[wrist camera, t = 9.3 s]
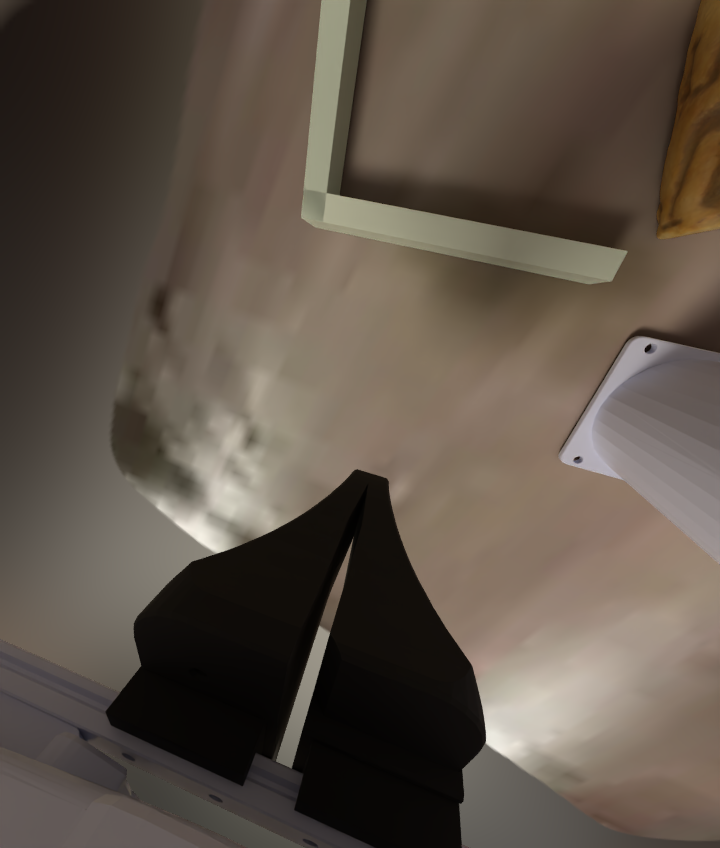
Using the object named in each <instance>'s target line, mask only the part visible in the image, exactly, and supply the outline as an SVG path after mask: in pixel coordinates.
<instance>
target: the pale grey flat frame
mask: <svg viewBox="0 0 720 848" xmlns="http://www.w3.org/2000/svg"><path fill="white" fill-rule="evenodd" d="M366 3H367V0H322V2H321V13H320V23H319V34H318V44H317V55H316V66H315V76H314V87H313V97H312V108H311V118H310V129H309V140H308V150H307V161H306V171H305V182H304V192H303V203H302V213H301V218H302V219H304V220H305V221H307V222H308V223H310V224H311V225H312V226H314V227H316V228H320V229H325V230H330V231H335V232H340V233H344V234H349V235H354V236H359V237H364V238H368V239H373V240H378V241H383V242H388V243H392V244H397V245H402V246H407V247H412V248H416V249H421V250H426V251H431V252H436V253H440V254H445V255H450V256H455V257H460V258H464V259H469V260H474V261H479V262H484V263H488V264H493V265H498V266H503V267H508V268H512V269H517V270H522V271H527V272H532V273H536V274H541V275H546V276H551V277H556V278H560V279H565V280H570V281H575V282H580V283H585V284H595V283H603V282H610V281H612V280H613V278H614V276H615V274H616V272H617V271H618V269H619V267H620V265H621V263H622V261H623V259H624V258H625V256H626V254H627V252H628V251H625V250H619V249H614V248H609V247H604V246H599V245H594V244H588V243H583V242H578V241H573V240H568V239H562V238H557V237H552V236H547V235H542V234H536V233H531V232H526V231H521V230H516V229H510V228H505V227H500V226H495V225H490V224H485V223H479V222H474V221H469V220H464V219H459V218H453V217H448V216H443V215H438V214H433V213H427V212H422V211H417V210H412V209H407V208H401V207H396V206H391V205H386V204H381V203H375V202H370V201H365V200H360V199H355V198H350V197H344V196H340V189H341V182H342V175H343V167H344V160H345V153H346V146H347V139H348V132H349V125H350V117H351V110H352V103H353V96H354V89H355V82H356V75H357V67H358V60H359V53H360V46H361V39H362V32H363V25H364V17H365V10H366Z"/></svg>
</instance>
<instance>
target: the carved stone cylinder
mask: <svg viewBox="0 0 720 848" xmlns="http://www.w3.org/2000/svg"><path fill="white" fill-rule="evenodd" d="M660 201H661V202H660V205H659V207H658V211H657V221H658V223H659V226H658V229H657V238H659V239H669V238H675V237H680V236H685V235H690V234H696V233H701V232H705V231H711V230H716V229H720V0H701V2H700V6H699V10H698V15H697V20H696V24H695V28H694V30H693V34H692V39H691V42H690V45H689V48H688V52H687V59H686V63H685V69H684V74H683V78H682V81H681V85H680V89H679V95H678V106H677V112H676V118H675V123H674V128H673V131H672V137H671V141H670V145H669V147H668V151H667V156H666V160H665V164H664V170H663V176H662V182H661V188H660Z"/></svg>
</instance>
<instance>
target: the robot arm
mask: <svg viewBox="0 0 720 848" xmlns="http://www.w3.org/2000/svg"><path fill="white" fill-rule="evenodd" d="M649 344H651V346H652V347H651V349H650V350H649V351H648V352H646V353H645V351H644V350H645V347H646V346H647V345H649ZM578 456H580V458H579V459H578V460H576V461H575V460H574V458H575V457H578ZM559 459H560V460H561V461H562V462H563V463H565V464H568V465H571V466H575V467H579V468H582V469H586V470H589V471H593V472H597V473H600V474H604V475H607V476H611V477H614V478H618V479H622V480H624V481H626V482H627V483H628V484H629V485H630V486H631V487H632V488H634V489H635V490H636V491H637V492H638V493H639V494H640V495H641V496H643V497H644V498H645V499H646V500H647V501H648V502H649V503H651V504H652V505H653V506H654V507H655V508H656V509H657V510H658V511H660V512H661V513H662V514H663V515H664V516H665V517H666V518H668V519H669V520H670V521H671V522H672V523H673V524H674V525H675V526H677V527H678V528H679V529H680V530H681V531H682V532H683V533H685V534H686V535H687V536H688V537H689V538H690V539H691V540H692V541H694V542H695V543H696V544H697V545H698V546H699V547H700V548H702V549H703V550H704V551H705V552H706V553H707V554H708V555H710V556H711V557H712V558H713V559H714V560H715V561H716V562H717V563H719V564H720V353H717V352H713V351H708V350H704V349H699V348H695V347H690V346H686V345H681V344H677V343H672V342H668V341H663V340H659V339H654V338H650V337H645V336H636V337H633V338H631V339H630V340H628V342H627V343H626V344H625V346H624V347H623V349H622V351H621V352H620V354H619V356H618V357H617V359H616V361H615V362H614V364H613V366H612V367H611V369H610V370H609V372H608V374H607V375H606V377H605V379H604V380H603V382H602V384H601V385H600V387H599V389H598V390H597V392H596V393H595V395H594V397H593V398H592V400H591V402H590V403H589V405H588V407H587V408H586V410H585V412H584V413H583V415H582V417H581V418H580V420H579V421H578V423H577V425H576V426H575V428H574V430H573V431H572V433H571V435H570V436H569V438H568V440H567V441H566V443H565V445H564V446H563V448H562V449H561V451H560V453H559ZM353 537H354V538H353ZM352 539H353V543H352V548H351V553H350V558H349V563H348V568H347V573H346V578H345V583H344V588H343V592H342V595H341V598H340V602H339V605H338V608H337V612H336V615H335V618H334V622H333V625H332V628H331V632H330V635H329V639H328V642H327V646H326V650H325V653H324V657H323V660H322V664H321V668H320V671H319V675H318V678H317V682H316V685H315V689H314V692H313V696H312V699H311V702H310V706H309V709H308V713H307V716H306V720H305V723H304V726H303V730H302V734H301V737H300V741H299V745H298V748H297V752H296V755H295V759H294V762H293V766H292V769H291V768H289V767H287V766H285V765H282V764H280V763H278V762H276V759H277V756H278V752H279V749H280V746H281V743H282V740H283V736H284V733H285V730H286V727H287V724H288V721H289V718H290V715H291V711H292V708H293V705H294V702H295V699H296V696H297V692H298V689H299V686H300V683H301V680H302V677H303V674H304V671H305V668H306V665H307V661H308V658H309V655H310V652H311V649H312V646H313V643H314V640H315V636H316V634H317V630H318V627H319V624H320V621H321V618H322V615H323V612H324V609H325V606H326V603H327V600H328V597H329V594H330V592H331V589H332V587H333V584H334V582H335V580H336V577H337V575H338V572H339V570H340V568H341V565H342V563H343V561H344V558H345V556H346V554H347V551H348V549H349V546H350V544H351V542H352ZM134 638H135V642H136V646H137V650H138V654H139V658H140V662H141V667H140V668H139V670H138V671H137V672H136V673H135V675H134V676H133V677H132V679H131V680H130V681H129V682H128V683H127V685H126V686H125V687H124V689H123V690H122V691H121V692H118V691H116V690H114V689H111V688H109V687H107V686H105V685H102V684H100V683H98V682H96V681H93V680H91V679H89V678H86V677H84V676H82V675H80V674H77V673H75V672H73V671H71V670H68V669H66V668H64V667H62V666H60V665H58V664H55V663H53V662H51V661H48V660H46V659H44V658H42V657H40V656H37V655H35V654H33V653H31V652H28V651H26V650H24V649H22V648H19V647H17V646H15V645H13V644H10V643H8V642H6V641H3V640H1V639H0V848H246V847H244V846H242V845H240V844H238V843H236V842H234V841H232V840H230V839H228V838H226V837H224V836H222V835H219V834H217V833H215V832H213V831H211V830H208V829H206V828H204V827H202V826H200V825H197V824H195V823H193V822H190V821H188V820H186V819H183V818H182V817H179V816H177V815H175V814H172V813H170V812H167V811H165V810H163V809H160V808H158V807H155V806H153V805H150V804H148V803H145V802H143V801H141V800H140V799H139V798H138V797H137V796H136V794H135V793H134V792H133V791H132V790H131V788H130V786H129V784H128V782H127V780H126V775H127V770H126V768H124V767H123V766H121V765H120V764H118V763H117V762H115V761H114V760H112V759H111V758H110V757H108V756H107V755H105V754H104V753H102V752H101V751H99V750H102V751H104V752H106V753H108V754H110V755H112V756H114V757H116V758H118V759H121V760H122V761H125V762H127V763H129V764H131V765H133V766H135V767H137V768H139V769H142V770H143V771H146V772H148V773H150V774H152V775H154V776H156V777H158V778H160V779H162V780H165V781H167V782H169V783H171V784H173V785H175V786H177V787H179V788H181V789H183V790H185V791H188V792H190V793H192V794H194V795H196V796H198V797H200V798H202V799H204V800H207V801H209V802H211V803H213V804H215V805H217V806H219V807H221V808H223V809H225V810H227V811H230V812H232V813H234V814H236V815H238V816H240V817H242V818H244V819H246V820H248V821H251V822H253V823H255V824H257V825H259V826H261V827H263V828H265V829H267V830H269V831H272V832H274V833H276V834H278V835H280V836H282V837H284V838H286V839H288V840H291V841H293V842H295V843H297V844H299V845H301V846H303V847H305V848H469V847H467V846H464V845H462V842H461V827H460V812H459V803H460V804H461V803H462V802H463V798H464V788H463V775H462V769H463V768H464V767H465V766H466V765H467V764H468V763H469V762H470V761H471V760H472V759H473V758H474V757H475V756H476V755H477V754H478V753H479V752H480V750H481V749H482V747H483V746H484V744H485V742H486V730H485V722H484V715H483V709H482V704H481V700H480V695H479V691H478V687H477V683H476V679H475V675H474V671H473V667H472V665H471V663H470V662H469V660H468V659H467V658H466V656H465V655H464V653H463V652H462V650H461V649H460V648H459V646H458V645H457V643H456V642H455V640H454V639H453V638H452V636H451V635H450V633H449V632H448V630H447V629H446V627H445V626H444V624H443V622H442V621H441V619H440V617H439V616H438V614H437V613H436V611H435V609H434V608H433V606H432V604H431V602H430V600H429V598H428V597H427V595H426V593H425V591H424V589H423V587H422V586H421V584H420V582H419V580H418V578H417V576H416V574H415V572H414V570H413V567H412V565H411V563H410V561H409V558H408V556H407V554H406V551H405V549H404V546H403V543H402V541H401V538H400V535H399V532H398V529H397V525H396V522H395V518H394V514H393V510H392V506H391V501H390V495H389V481H388V480H387V478H384V477H380V476H377V475H374V474H371V473H367V472H364V471H361V470H358V469H357V470H354V471H353V472H352V474H351V475H350V476H349V477H348V478H347V479H346V480H345V481H344V482H343V483H342V484H341V485H340V486H339V487H338V488H336V489H335V490H334V491H333V492H332V493H331V494H330V495H328V496H327V497H326V498H325V499H323V500H322V501H321V502H319V503H318V504H317V505H315V506H314V507H312V508H311V509H310V510H308V511H307V512H305V513H304V514H302V515H300V516H299V517H297V518H295V519H294V520H292V521H290V522H289V523H287V524H285V525H283V526H281V527H279V528H277V529H276V530H274V531H272V532H270V533H268V534H265V535H263V536H261V537H259V538H256V539H254V540H252V541H249V542H247V543H245V544H242V545H240V546H238V547H235V548H232V549H230V550H227V551H224V552H221V553H218V554H215V555H212V556H209V557H206V558H203V559H199V560H196V561H193V562H191V563H190V564H189V565H188V566H187V567H186V568H185V569H183V570H182V572H180V573H179V574H178V575H176V576H175V578H173V580H171V581H170V582H169V583H168V584H167V585H166V586H165V587H164V588H163V590H161V592H160V593H159V594H158V595H157V596H156V597H155V598H154V599H153V600H152V601H151V602H150V604H148V606H147V607H146V608H145V609H144V610H143V611H142V612H141V613H140V614H139V615H138V616H137V618H136V620H135V623H134ZM96 748H97V749H96ZM98 749H99V750H98Z"/></svg>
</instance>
